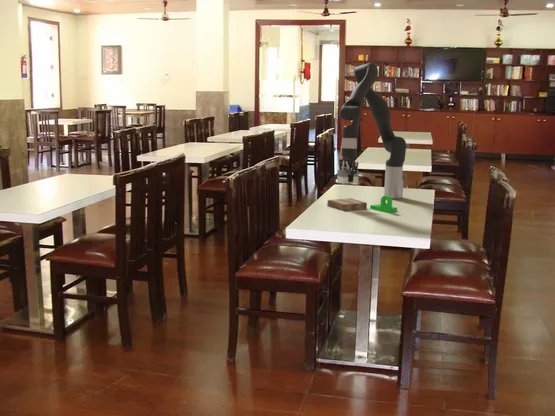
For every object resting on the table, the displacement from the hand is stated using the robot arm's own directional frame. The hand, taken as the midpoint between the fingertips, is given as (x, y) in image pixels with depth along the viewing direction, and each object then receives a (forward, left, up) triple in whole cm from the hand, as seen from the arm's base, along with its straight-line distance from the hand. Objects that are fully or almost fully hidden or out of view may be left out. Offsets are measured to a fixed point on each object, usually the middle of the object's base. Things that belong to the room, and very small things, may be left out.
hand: (347, 181), depth 311 cm
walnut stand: (0, 0, -13) cm, 13 cm away
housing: (0, 0, 0) cm, 0 cm away
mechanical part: (-13, +13, -14) cm, 23 cm away
